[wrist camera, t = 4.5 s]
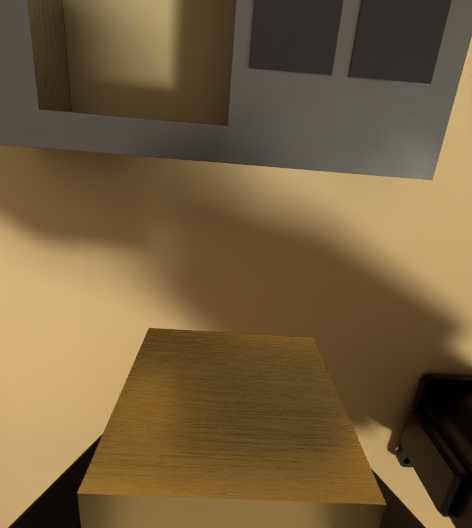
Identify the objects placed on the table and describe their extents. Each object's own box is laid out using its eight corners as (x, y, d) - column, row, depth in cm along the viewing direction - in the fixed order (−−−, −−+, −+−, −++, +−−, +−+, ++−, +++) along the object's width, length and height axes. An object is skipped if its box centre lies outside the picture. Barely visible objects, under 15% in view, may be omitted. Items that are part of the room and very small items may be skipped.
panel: (463, -88, 12) (523, -149, 9) (400, 174, 15) (433, 180, 12) (-3, -143, 11) (-68, -224, 9) (32, 143, 14) (-10, 144, 12)
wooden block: (314, 337, 9) (388, 509, 5) (291, 458, 11) (333, 671, 6) (148, 328, 9) (75, 498, 5) (150, 452, 10) (95, 668, 6)
